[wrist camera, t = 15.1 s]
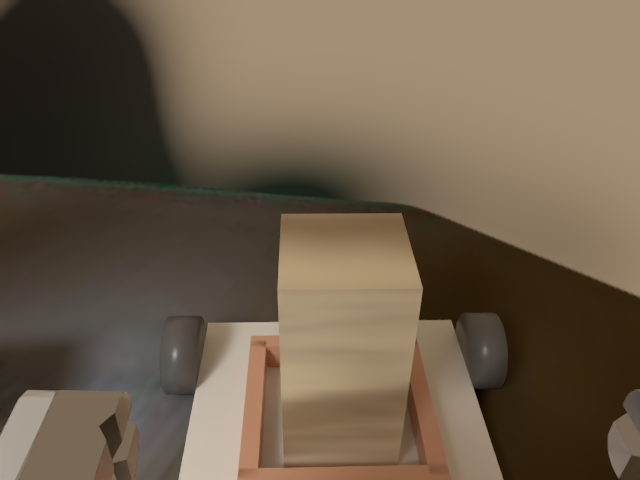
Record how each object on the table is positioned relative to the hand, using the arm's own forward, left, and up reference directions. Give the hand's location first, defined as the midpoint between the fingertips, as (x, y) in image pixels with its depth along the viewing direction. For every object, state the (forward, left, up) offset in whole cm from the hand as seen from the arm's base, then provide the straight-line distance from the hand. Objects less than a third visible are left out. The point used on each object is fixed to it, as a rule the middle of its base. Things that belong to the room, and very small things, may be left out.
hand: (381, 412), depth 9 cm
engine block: (-8, +9, -15) cm, 19 cm away
